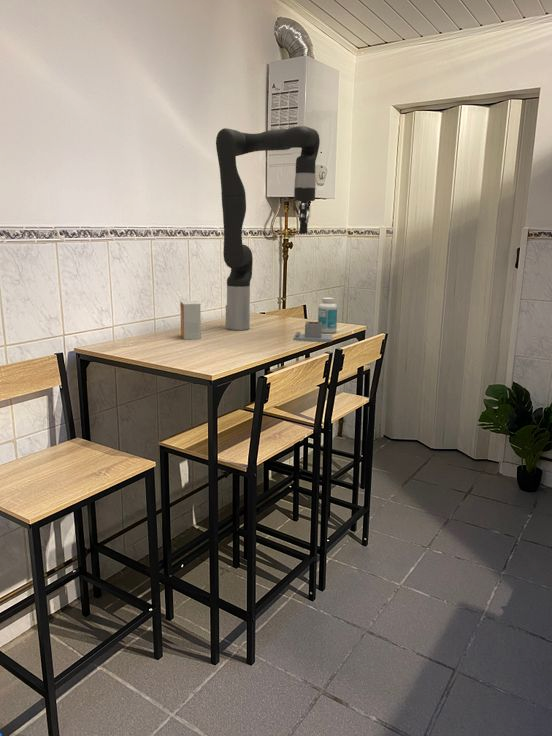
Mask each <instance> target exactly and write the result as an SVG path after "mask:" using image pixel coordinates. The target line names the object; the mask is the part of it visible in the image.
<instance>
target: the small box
mask: <svg viewBox="0 0 552 736" xmlns="http://www.w3.org/2000/svg"><path fill="white" fill-rule="evenodd" d="M179 303H180V304H179V305H180V336H181V337H182V338H183V340H201V339H202V325H201V323H202V322H201V321H202V319H201V315H202V314H201V312H202V311H201V303H200V302H198V301H197V300H182V301H181V300H180V302H179Z"/></svg>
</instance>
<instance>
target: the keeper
mask: <svg viewBox="0 0 552 736" xmlns="http://www.w3.org/2000/svg"><path fill="white" fill-rule="evenodd" d="M293 340H299V342H301V341H300V340H304V341H303V342H318V343H319V342H321V343H323V342H324V343H332V342H333V335H332V334H324V333H323V334H322V335H321V338H305V333H301V332H300V331H296V333H294V336H293Z"/></svg>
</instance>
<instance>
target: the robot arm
mask: <svg viewBox="0 0 552 736" xmlns="http://www.w3.org/2000/svg"><path fill="white" fill-rule="evenodd" d="M215 146H216V148H215V149H216V155H217V160H218V166H219V167H218V168H219V176H220V177H219V178H220V179H219V180H220V189H221V190H220V191H221V207H222V219H223V220H222V222H223V261H224V263H225V265H226V266H227V267H228V268H230V273H229V276H228V277H227V278H226V304H225V330H232V331H241V330H242V331H244V330H245V331H246V330H250V326H251V325H250V324H251V323H250V317H251V315H250V314H251V309H250V308H251V307H250V306H251V304H250V302H251V280H252V277H253V276H252V275H253V259H254V257H253V253H252V249H251V248H250V247H249V246H248V245H246V244H244V243H243V235H242V232H243V225H244V221H245V217H246V213H247V198H246V197H247V196H246V190H245V186H244V183H243V181H242V179H241V177H240V174H239V171H238V167H237V159H236V157H239V156H243V155H245V154H250V153H254V152H261V151H262V152H263V151H265V152H266V151H267V152H268V151H272V152H274V151H287V150H291V149H295V148H297V149H298V148H301V151H300V155H299V156H298V157H296V159H295V174H294V175H295V176H294V191H293V192H294V193H293V200H294V201H296V202H300V203H299V205H298V208H297V209H298V221H299V235H305V234H308V223H309V219H310V211H311V206H310V205H309V202H314V201H315V200H316V180H317V179H316V160H317V157H318V154H319V148H320V135H319V132H318V131H317V130H316V129H314V128H311V127H308V126H306V125H305V126H304V125H303V126H302V125H300V126H299V125H298V126H294V127H293V126H292V127H289V128H279V129H278V128H277V129H270V130H269V129H268V130H265V131H263V132H260V133H258V132H257V133H250V132H249V133H248V132H240V131H239V130H236V129H231V128H227V127H225V128H221V130H219V131H218V133H217V135H216V138H215Z"/></svg>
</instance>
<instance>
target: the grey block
mask: <svg viewBox="0 0 552 736" xmlns="http://www.w3.org/2000/svg"><path fill="white" fill-rule="evenodd" d="M304 334H305V338H321V335H322V322H318V321H305V323H304Z"/></svg>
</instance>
